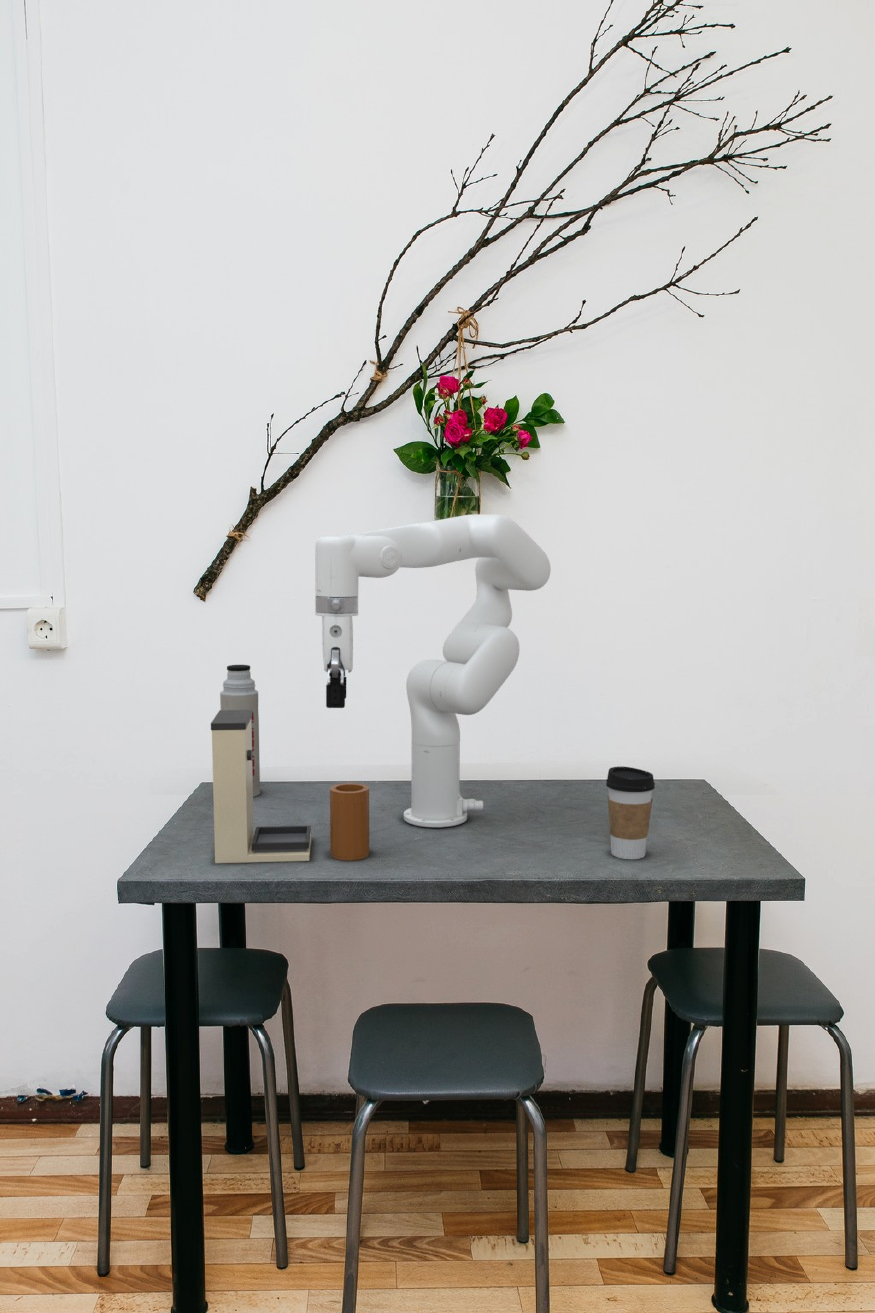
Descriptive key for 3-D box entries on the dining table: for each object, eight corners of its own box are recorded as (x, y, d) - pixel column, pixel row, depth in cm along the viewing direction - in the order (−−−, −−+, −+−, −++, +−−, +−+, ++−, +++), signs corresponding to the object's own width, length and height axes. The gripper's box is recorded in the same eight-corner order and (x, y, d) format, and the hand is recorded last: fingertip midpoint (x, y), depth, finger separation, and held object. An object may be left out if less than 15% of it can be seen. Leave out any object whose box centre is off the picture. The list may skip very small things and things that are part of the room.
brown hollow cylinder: (368, 847, 178) (368, 782, 176) (369, 860, 171) (369, 792, 170) (330, 848, 177) (330, 783, 176) (330, 861, 171) (329, 793, 169)
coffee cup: (618, 843, 181) (621, 763, 179) (660, 853, 176) (663, 770, 174) (595, 855, 174) (597, 771, 173) (638, 865, 169) (641, 779, 167)
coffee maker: (311, 839, 183) (309, 709, 179) (309, 861, 171) (307, 722, 167) (222, 841, 181) (219, 710, 178) (214, 863, 169) (210, 723, 166)
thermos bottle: (262, 797, 211) (259, 667, 207) (223, 800, 209) (220, 668, 205) (258, 788, 218) (255, 662, 215) (221, 790, 216) (218, 663, 213)
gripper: (357, 610, 165) (357, 711, 167) (358, 603, 183) (358, 695, 185) (312, 610, 165) (312, 711, 167) (318, 603, 182) (317, 695, 184)
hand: (336, 703), depth 176 cm, fingers open, 9 cm apart
